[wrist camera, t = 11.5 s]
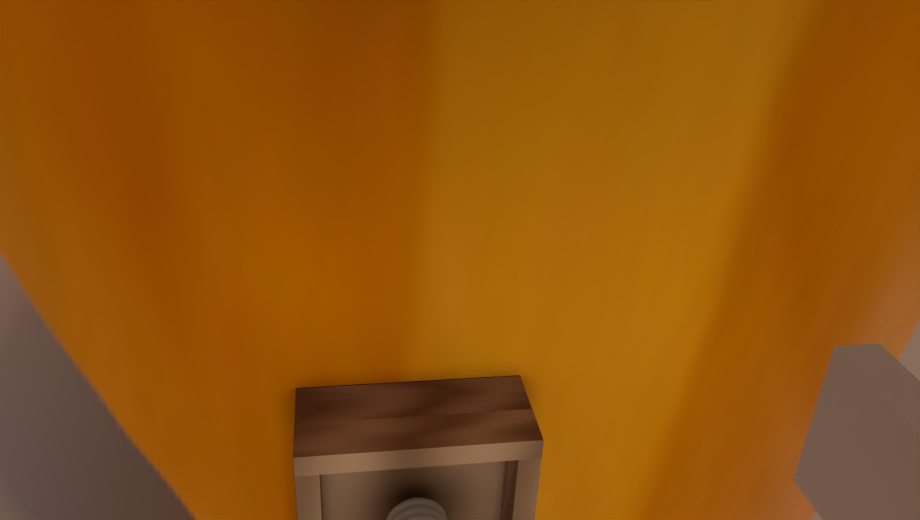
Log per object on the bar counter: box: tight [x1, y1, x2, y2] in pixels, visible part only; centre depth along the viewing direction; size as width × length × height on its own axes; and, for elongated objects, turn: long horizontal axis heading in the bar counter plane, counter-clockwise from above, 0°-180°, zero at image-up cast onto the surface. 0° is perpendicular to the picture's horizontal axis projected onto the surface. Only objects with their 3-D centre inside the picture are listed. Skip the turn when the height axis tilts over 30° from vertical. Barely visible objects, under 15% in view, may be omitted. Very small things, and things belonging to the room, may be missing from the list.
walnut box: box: [293, 376, 543, 520], centre depth 45 cm, size 12×12×6 cm
